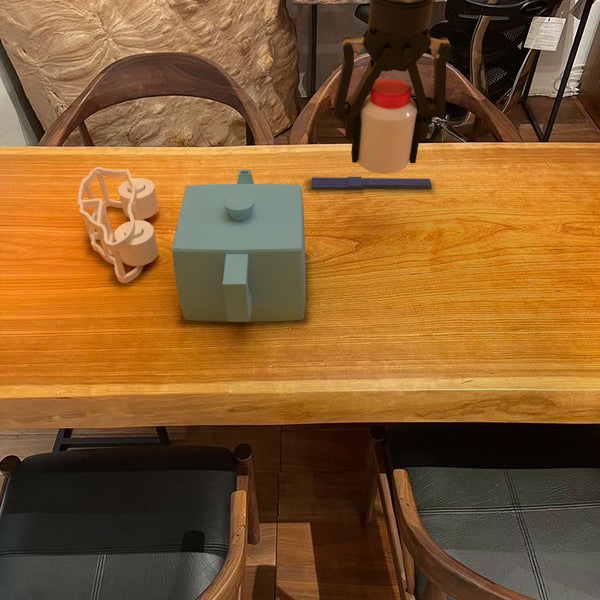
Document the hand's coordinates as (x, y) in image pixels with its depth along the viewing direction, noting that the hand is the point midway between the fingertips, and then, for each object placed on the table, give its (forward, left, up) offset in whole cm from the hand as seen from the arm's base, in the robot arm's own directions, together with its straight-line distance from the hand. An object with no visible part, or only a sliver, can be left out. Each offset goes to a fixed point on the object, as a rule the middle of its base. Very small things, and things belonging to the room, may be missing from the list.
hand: (383, 157), depth 86 cm
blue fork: (+5, -10, -12) cm, 17 cm away
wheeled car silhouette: (+33, +22, -13) cm, 42 cm away
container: (+11, +21, -13) cm, 27 cm away
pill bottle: (0, 0, 0) cm, 0 cm away
